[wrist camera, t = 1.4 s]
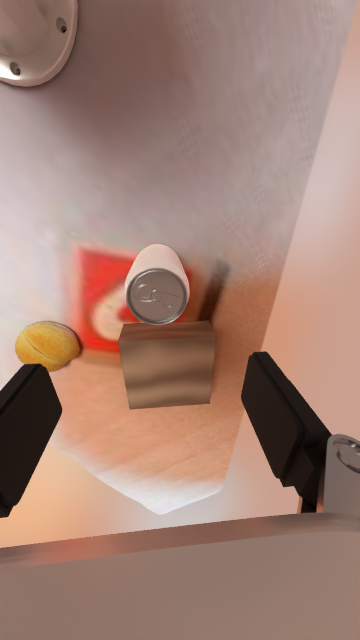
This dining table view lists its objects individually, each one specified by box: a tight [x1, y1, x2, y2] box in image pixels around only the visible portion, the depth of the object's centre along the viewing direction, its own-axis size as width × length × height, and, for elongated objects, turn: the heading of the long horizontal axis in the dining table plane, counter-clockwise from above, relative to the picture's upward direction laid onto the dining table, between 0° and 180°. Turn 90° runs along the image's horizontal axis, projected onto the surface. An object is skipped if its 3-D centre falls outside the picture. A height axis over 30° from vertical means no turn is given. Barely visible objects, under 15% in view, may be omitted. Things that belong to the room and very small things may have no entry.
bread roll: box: [15, 321, 79, 372], centre depth 32 cm, size 8×9×4 cm
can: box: [124, 244, 190, 325], centre depth 24 cm, size 6×6×12 cm
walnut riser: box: [118, 321, 216, 409], centre depth 35 cm, size 14×14×5 cm
